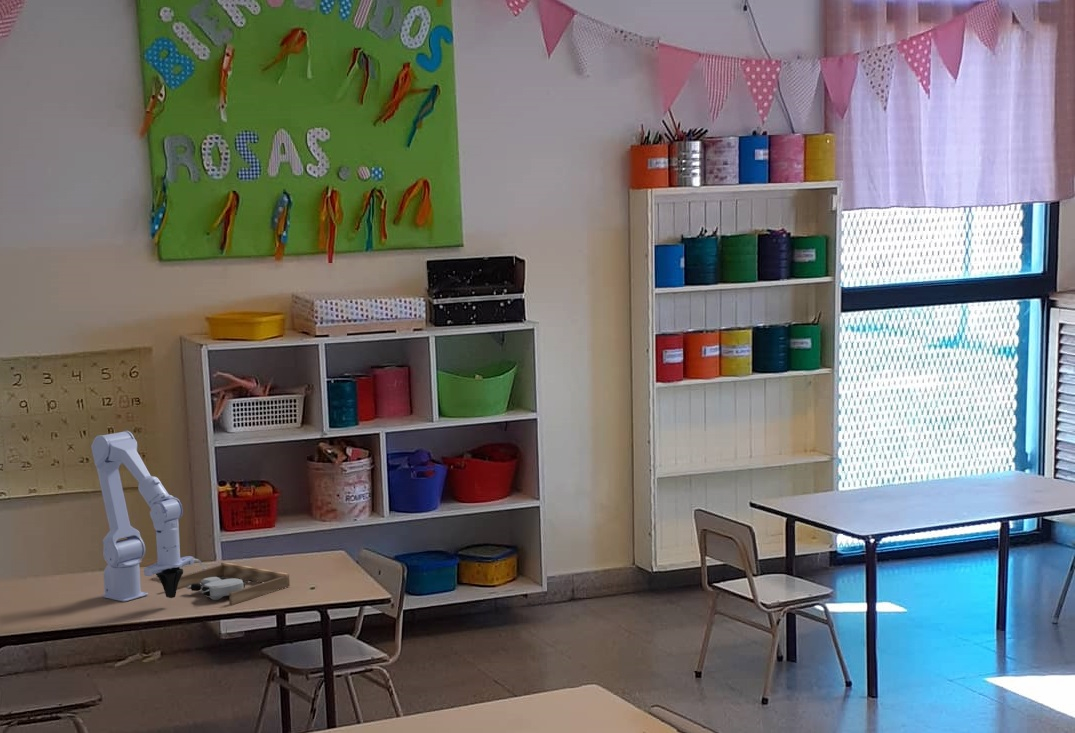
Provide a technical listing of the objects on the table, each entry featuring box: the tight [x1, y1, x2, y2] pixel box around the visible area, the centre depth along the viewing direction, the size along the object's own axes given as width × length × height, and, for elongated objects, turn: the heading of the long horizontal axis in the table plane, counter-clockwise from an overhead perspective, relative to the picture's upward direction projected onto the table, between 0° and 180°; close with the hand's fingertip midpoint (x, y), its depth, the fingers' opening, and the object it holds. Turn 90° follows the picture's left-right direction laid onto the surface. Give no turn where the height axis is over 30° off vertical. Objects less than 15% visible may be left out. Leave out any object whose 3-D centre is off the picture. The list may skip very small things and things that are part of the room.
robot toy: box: [186, 576, 251, 601], centre depth 366 cm, size 12×4×15 cm
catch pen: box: [177, 561, 291, 606], centre depth 372 cm, size 26×20×4 cm
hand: (170, 597), depth 356 cm, fingers closed
